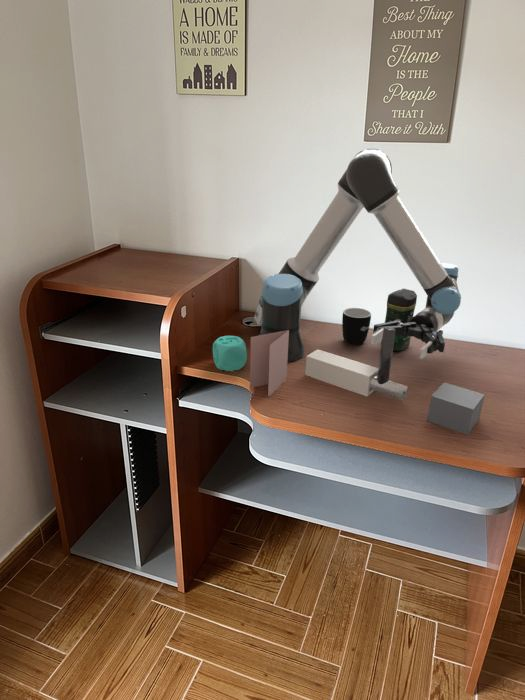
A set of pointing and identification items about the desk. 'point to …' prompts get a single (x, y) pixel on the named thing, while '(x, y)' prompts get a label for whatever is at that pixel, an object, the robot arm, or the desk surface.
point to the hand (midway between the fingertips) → (396, 347)
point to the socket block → (455, 408)
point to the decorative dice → (229, 353)
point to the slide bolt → (387, 368)
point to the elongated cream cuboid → (340, 371)
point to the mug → (355, 325)
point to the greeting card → (269, 360)
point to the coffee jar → (401, 313)
